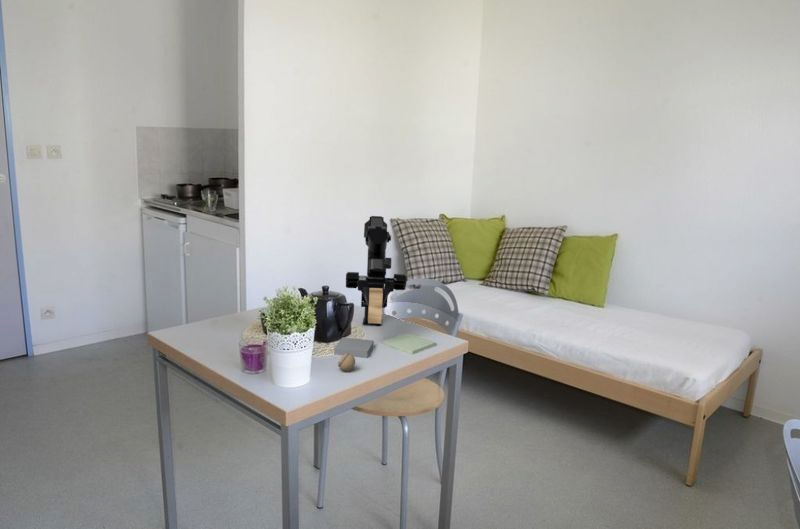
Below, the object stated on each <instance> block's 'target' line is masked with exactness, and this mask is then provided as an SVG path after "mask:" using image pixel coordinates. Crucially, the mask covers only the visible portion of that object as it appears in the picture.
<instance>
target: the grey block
mask: <svg viewBox="0 0 800 529" xmlns="http://www.w3.org/2000/svg"><path fill="white" fill-rule="evenodd" d="M374 344H375V341H374V340H372V339H364V338H354V337H353V338H352V337H344V336H343V337H341V338H340V340H339V341H338V342H337V344H336V345H335V346H334V349H333V351H334V352H333V354H334V355H336V354H337V355H338V356H343V355H344V354H346V353H349V354H351V355H353V356H354V358H355V357H356V358H363V359H364V358H365V359H367V358H369V355H370V354H371V352H372V350H373V348H374Z"/></svg>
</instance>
